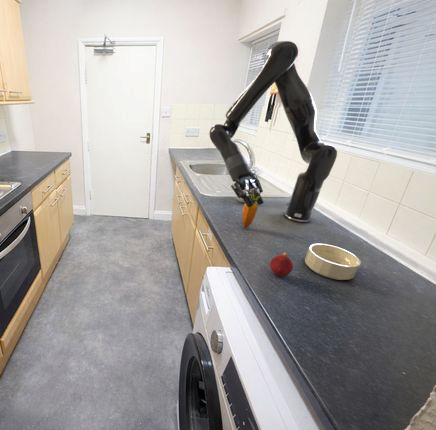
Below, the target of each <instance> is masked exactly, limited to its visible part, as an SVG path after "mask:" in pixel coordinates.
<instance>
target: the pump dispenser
mask: <svg viewBox="0 0 436 430" xmlns="http://www.w3.org/2000/svg"><path fill="white" fill-rule="evenodd" d="M251 178H252V179H253V180H256V179H259V178H258V176H257V174H256V173H254V172H252V174H251ZM253 188H254V187H253ZM253 188H252V189H253ZM258 190H259V188H258ZM254 192H255V191H254ZM238 193H239V194H240V192H239V191H238ZM244 194H245V193H244ZM248 194H251V195H253V194H252V193H250V192H249V191H248ZM235 196H236V200H237V201H238V202H240V203H242V204H245V201H244V199H242V198H238V197H237V195H236V194H235ZM248 197H249V196H248ZM254 197H255V196H254ZM254 199H255V198H254Z"/></svg>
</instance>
